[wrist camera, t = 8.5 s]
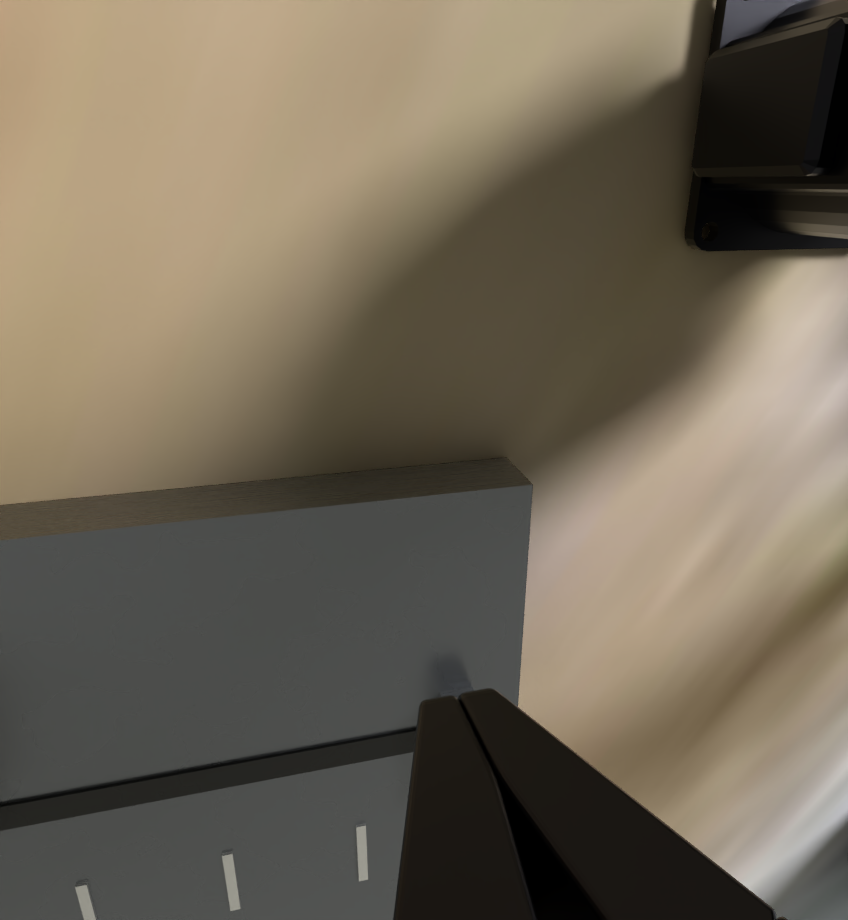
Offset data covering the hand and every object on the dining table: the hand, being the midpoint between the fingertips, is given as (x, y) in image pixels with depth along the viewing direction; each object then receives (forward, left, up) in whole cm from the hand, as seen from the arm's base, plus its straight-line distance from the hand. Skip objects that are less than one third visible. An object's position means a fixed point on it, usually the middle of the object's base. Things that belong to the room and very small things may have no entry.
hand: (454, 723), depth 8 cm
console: (+6, +10, -12) cm, 16 cm away
